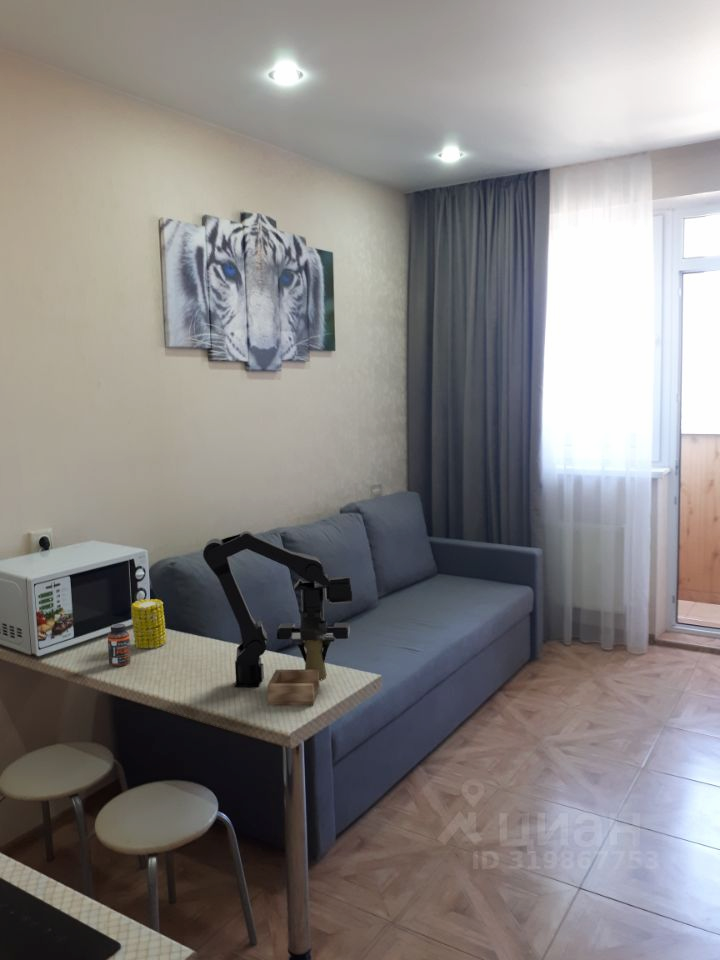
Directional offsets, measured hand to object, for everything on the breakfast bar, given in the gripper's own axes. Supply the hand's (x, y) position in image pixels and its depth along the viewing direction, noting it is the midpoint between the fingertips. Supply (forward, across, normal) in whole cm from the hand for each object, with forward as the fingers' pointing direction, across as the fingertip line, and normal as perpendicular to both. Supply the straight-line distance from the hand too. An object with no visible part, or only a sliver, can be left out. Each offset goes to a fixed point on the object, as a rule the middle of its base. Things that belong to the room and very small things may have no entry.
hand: (314, 662), depth 198 cm
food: (+4, -55, +27) cm, 61 cm away
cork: (+4, 0, 0) cm, 4 cm away
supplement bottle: (+4, -58, +11) cm, 59 cm away
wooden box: (+4, -4, -13) cm, 14 cm away
